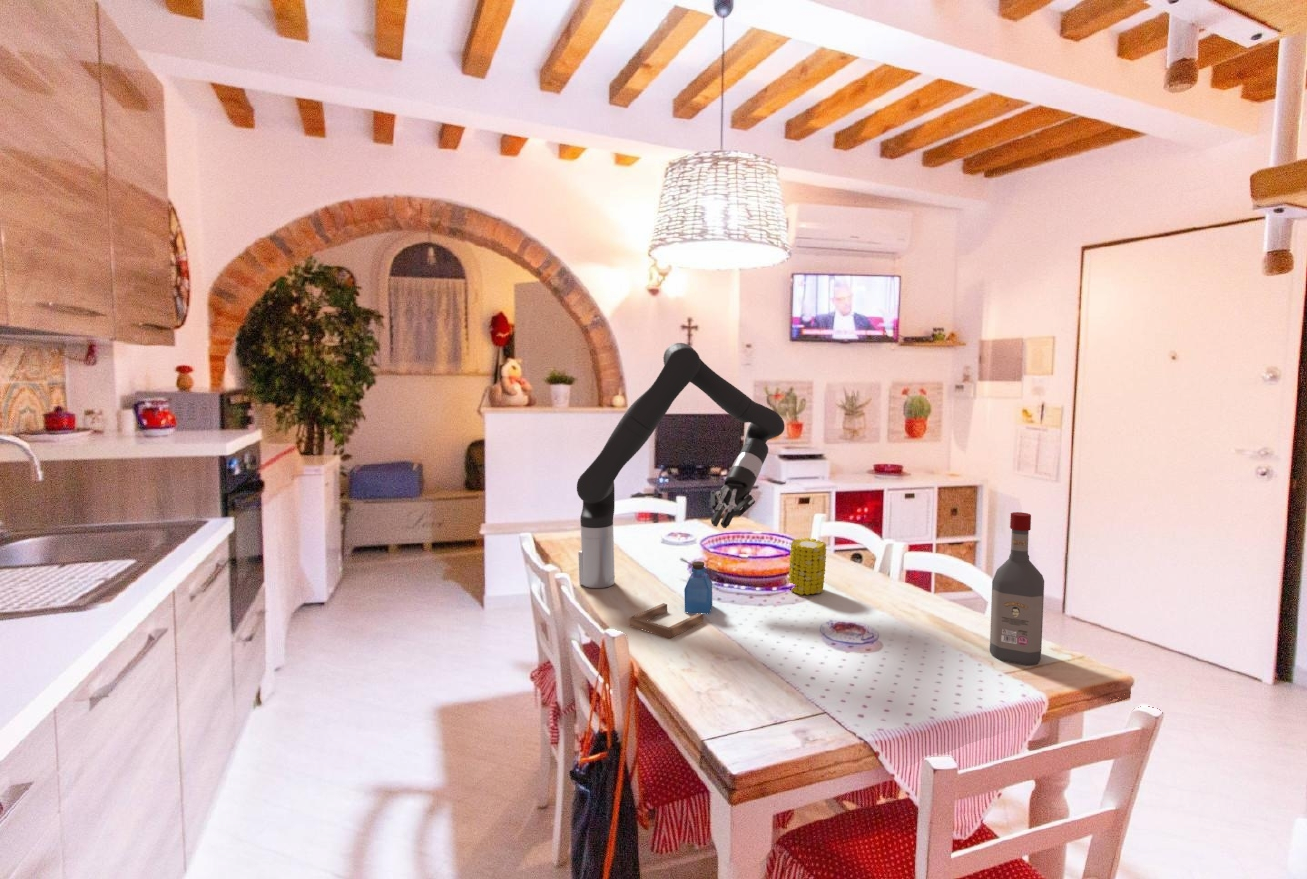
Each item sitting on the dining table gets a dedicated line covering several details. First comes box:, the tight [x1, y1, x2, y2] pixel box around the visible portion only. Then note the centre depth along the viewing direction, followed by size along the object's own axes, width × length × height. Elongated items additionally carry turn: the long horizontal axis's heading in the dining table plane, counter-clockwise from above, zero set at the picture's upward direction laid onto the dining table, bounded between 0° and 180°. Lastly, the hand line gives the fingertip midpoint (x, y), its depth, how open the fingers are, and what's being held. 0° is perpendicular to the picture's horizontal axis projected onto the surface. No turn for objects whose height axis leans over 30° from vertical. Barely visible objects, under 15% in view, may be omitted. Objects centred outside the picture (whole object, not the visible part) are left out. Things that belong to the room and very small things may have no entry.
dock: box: [628, 602, 704, 639], centre depth 163 cm, size 13×12×2 cm
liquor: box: [989, 511, 1045, 666], centre depth 140 cm, size 9×9×30 cm
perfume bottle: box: [683, 560, 713, 615], centre depth 172 cm, size 6×6×12 cm
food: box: [787, 537, 827, 596], centre depth 184 cm, size 15×12×10 cm
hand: (718, 525), depth 177 cm, fingers open, 2 cm apart
